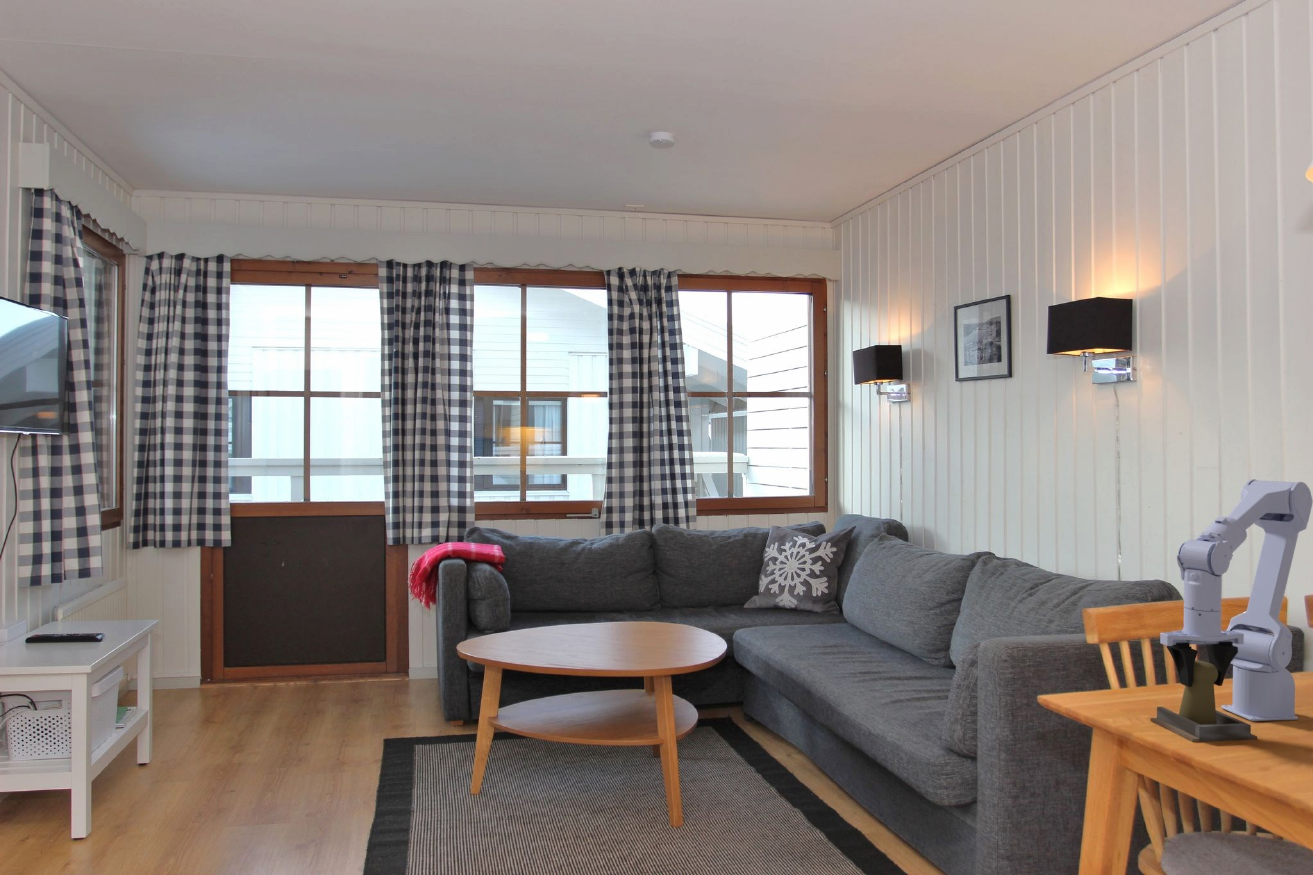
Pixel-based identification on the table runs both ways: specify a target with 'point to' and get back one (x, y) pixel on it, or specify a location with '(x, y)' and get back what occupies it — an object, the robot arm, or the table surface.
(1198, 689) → the olive rounded tapered post
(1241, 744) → the table surface
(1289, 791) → the table surface
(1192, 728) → the shaker socket
